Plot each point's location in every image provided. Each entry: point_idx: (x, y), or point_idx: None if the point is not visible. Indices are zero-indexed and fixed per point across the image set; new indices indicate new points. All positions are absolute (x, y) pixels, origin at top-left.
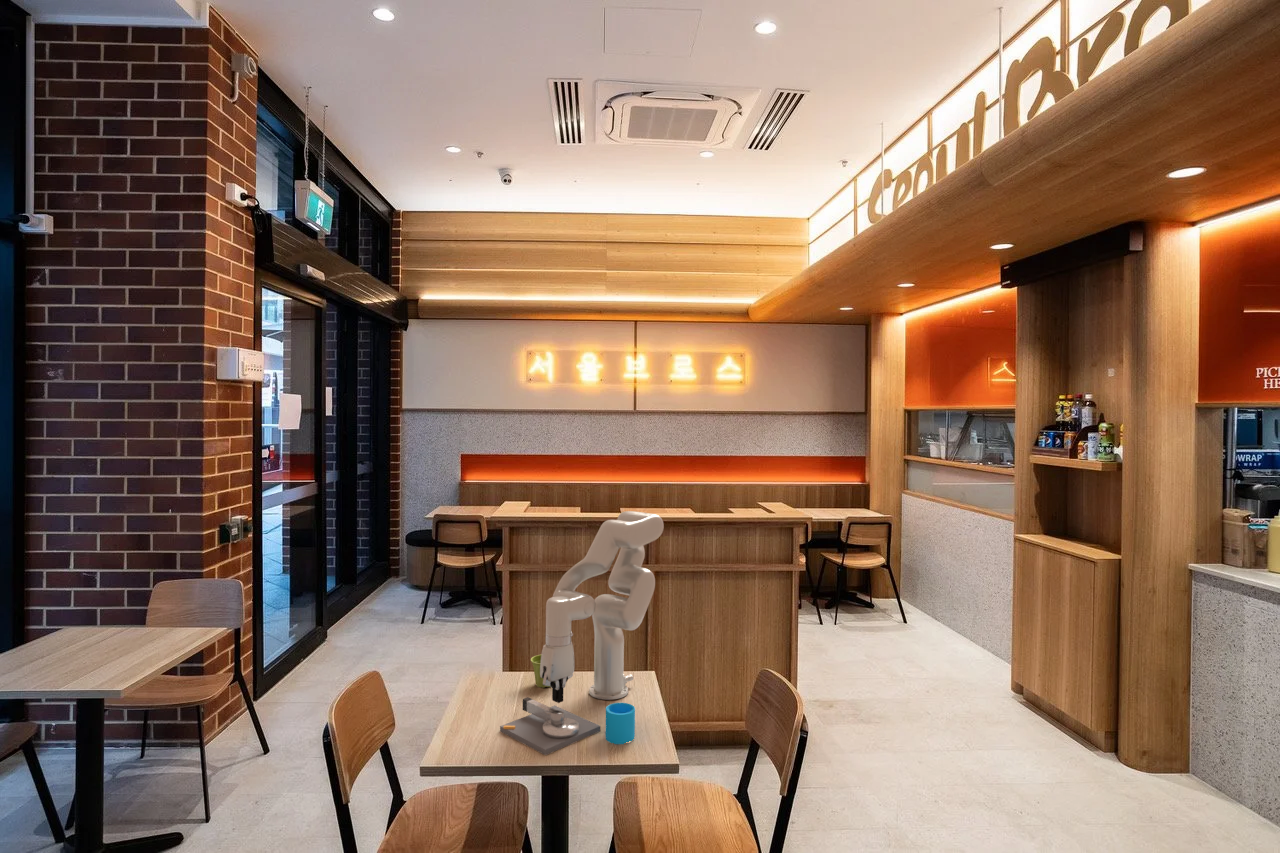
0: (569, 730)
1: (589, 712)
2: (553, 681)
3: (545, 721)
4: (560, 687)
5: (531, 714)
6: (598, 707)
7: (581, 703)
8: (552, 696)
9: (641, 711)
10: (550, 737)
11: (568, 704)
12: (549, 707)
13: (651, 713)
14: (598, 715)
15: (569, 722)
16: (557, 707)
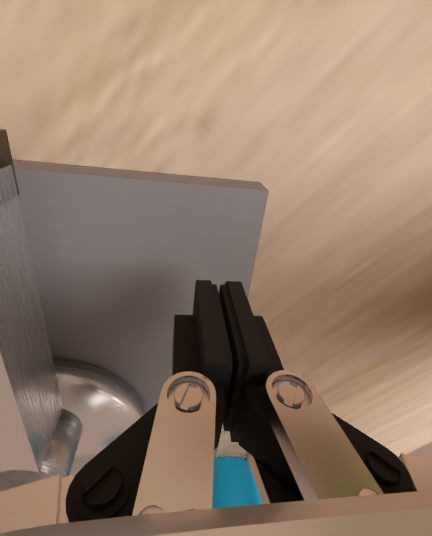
0: None
1: (331, 327)
2: (197, 470)
3: (58, 315)
4: (238, 431)
5: (37, 174)
6: (398, 320)
7: (416, 234)
8: (174, 326)
9: (417, 424)
10: None
11: (376, 186)
12: (19, 431)
13: (412, 444)
14: (322, 366)
15: (105, 444)
16: (251, 231)
